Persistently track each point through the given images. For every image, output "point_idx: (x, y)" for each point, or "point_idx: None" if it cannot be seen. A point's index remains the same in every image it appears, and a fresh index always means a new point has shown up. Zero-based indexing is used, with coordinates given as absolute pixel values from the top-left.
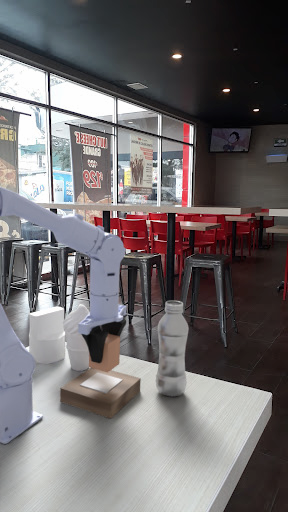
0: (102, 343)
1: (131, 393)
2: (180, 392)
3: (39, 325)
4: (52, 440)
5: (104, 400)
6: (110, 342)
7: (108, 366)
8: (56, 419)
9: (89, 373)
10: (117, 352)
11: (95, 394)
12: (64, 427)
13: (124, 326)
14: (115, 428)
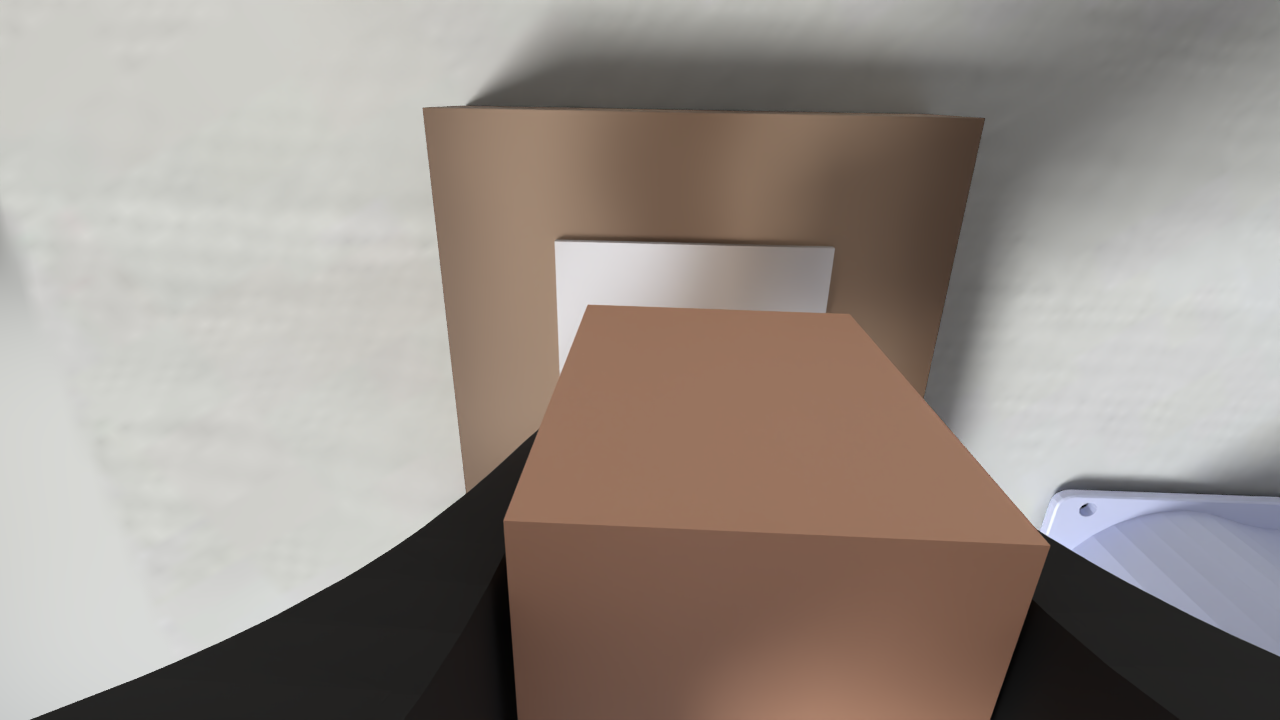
0: (1180, 639)
1: (611, 109)
2: None
3: None
4: (1266, 318)
5: (947, 201)
6: (948, 540)
7: (848, 337)
8: (1043, 419)
9: None
10: (628, 374)
11: (881, 316)
12: (1115, 334)
13: (124, 684)
14: (1039, 10)
